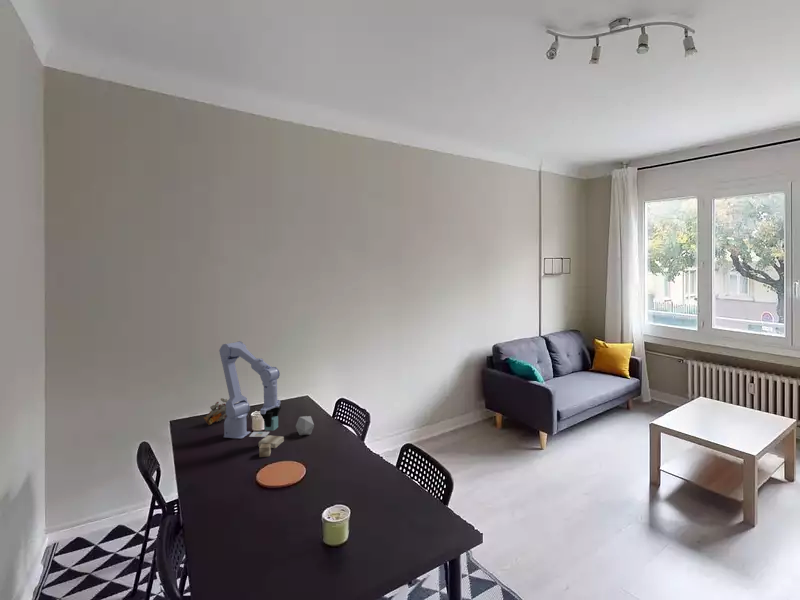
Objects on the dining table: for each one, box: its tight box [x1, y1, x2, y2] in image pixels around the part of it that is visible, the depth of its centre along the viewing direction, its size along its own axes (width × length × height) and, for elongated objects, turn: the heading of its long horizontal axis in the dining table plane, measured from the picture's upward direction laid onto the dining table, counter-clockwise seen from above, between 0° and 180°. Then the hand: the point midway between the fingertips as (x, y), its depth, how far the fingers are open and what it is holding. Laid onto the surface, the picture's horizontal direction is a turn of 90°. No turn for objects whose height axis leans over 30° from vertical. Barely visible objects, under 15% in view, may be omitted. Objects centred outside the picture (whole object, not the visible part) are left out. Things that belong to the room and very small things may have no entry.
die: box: [295, 415, 315, 436], centre depth 201 cm, size 8×9×10 cm
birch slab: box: [258, 434, 285, 449], centre depth 189 cm, size 8×8×2 cm
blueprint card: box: [248, 431, 270, 438], centre depth 200 cm, size 8×6×1 cm
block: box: [258, 443, 272, 458], centre depth 178 cm, size 4×4×4 cm
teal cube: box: [263, 415, 279, 432], centre depth 189 cm, size 4×4×5 cm
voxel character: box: [203, 398, 229, 426], centre depth 215 cm, size 11×10×15 cm
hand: (271, 424), depth 189 cm, fingers closed on teal cube, 5 cm apart
